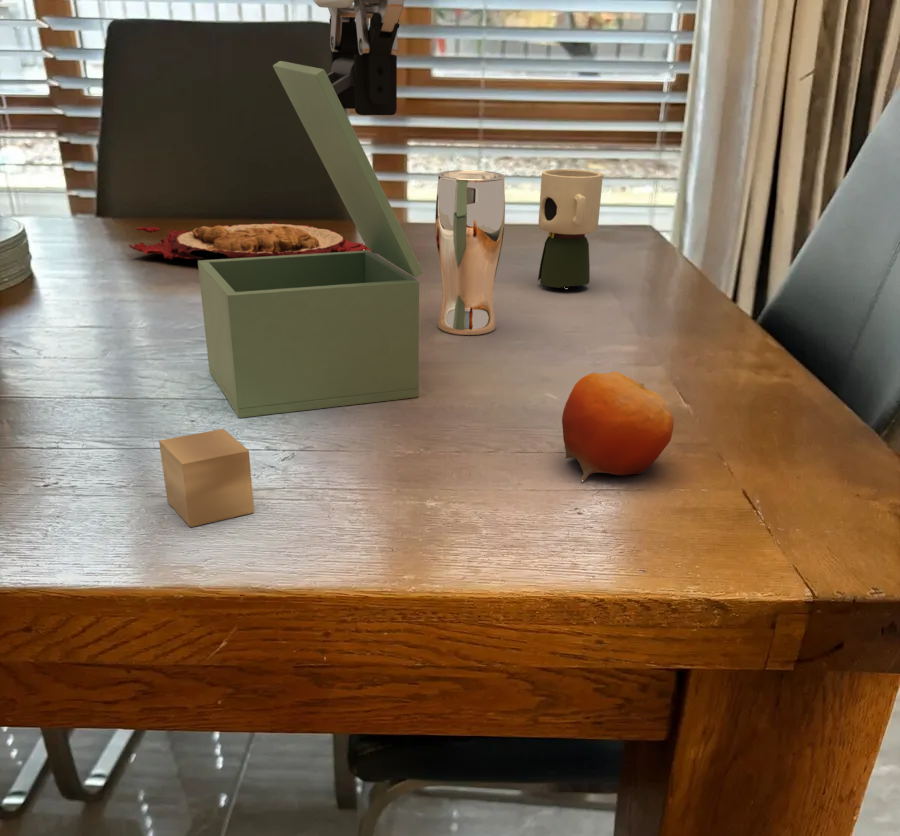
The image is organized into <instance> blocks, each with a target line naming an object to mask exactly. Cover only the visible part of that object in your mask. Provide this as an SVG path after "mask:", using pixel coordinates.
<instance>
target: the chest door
mask: <svg viewBox="0 0 900 836" xmlns="http://www.w3.org/2000/svg"><path fill="white" fill-rule="evenodd" d="M272 68H273V70H274V71H275V74H276V75H277V77H278V79H279V82H280V83H281V85H282V87H283V89H284V91H285V93H286V95H287V96H288V98H289V100H290V102H291V104H292V106H293V108H294V110H295V112H296V114H297V117H298V118H299V120H300V122H301V123H302V126H303V128H304V130H305V131H306V133H307V135H308V137H309V139H310V141H311V143H312V145H313V147H314V149H315V150H316V153H317V155H318V156H319V158H320V161H321V162H322V164H323V166H324V168H325V170H326V172H327V174H328V176H329V178H330V179H331V181H332V184H333V186H334V188H335V189H336V191H337V193H338V196H339V197H340V199H341V202H342V203H343V205H344V207H345V209H346V210H347V212H348V214H349V217H350V218H351V220H352V222H353V224H354V226H355V228H356V230H357V232H358V234H359V236H360V237H361V240H362V241H363V244H365V245H366V247H367V248H369V249H370V250H372V252H373V253H375V254H377V255H378V256H380V257H381V258H383V259H384V260H386V261H388V262H389V263H391V264H392V265H394V266H396V267H397V268H399V269H400V270H402V271H404V272H405V273H407V274H408V275H410V276H411V277H413V278H415V279H416V278H418V277H419V276H421V275H422V274H424V271H423V268H422V267H421V264H420V263H419V261H418V259H417V257H416V255H415V253H414V251H413V248H412V247H411V245H410V242H409V239H408V238H407V236H406V234H405V232H404V230H403V228H402V225H401V224H400V222H399V219H398V218H397V216H396V213H395V211H394V209H393V207H392V205H391V204H390V202H389V199H388V196H387V195H386V193H385V191H384V190H383V187H382V184H381V183H380V181H379V178H378V176H377V174H376V173H375V170H374V168H373V166H372V165H371V163H370V160H369V158H368V155H367V154H366V152H365V150H364V148H363V146H362V143H361V141H360V140H359V137H358V135H357V133H356V131H355V129H354V127H353V125H352V124H351V121H350V118H349V117H348V115H347V113H346V110H345V109H343V107H342V105H341V103H340V101H339V98H338V96H337V94H339V93H340V92H342V91H344V90H345V89H347V88H348V87H350V86H351V85H353V86H355V85H354V59H351V58H344V57H340V58H337V59H336V60H335V61H334V62H333V64H332V66H331V69H330V70H331V71H330V72H328V73H327V72H326V70H325V69H323V68H319V67H315V66H309V65H305V64H299V63H294V62H288V61H284V60H279V61H277V62H275V63H274V64H273V65H272Z"/></svg>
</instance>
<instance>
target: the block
mask: <svg viewBox="0 0 900 836" xmlns="http://www.w3.org/2000/svg"><path fill="white" fill-rule="evenodd" d="M158 443H159V451H160V457H161V465H162V473H163V480H164V485H165V486H164V487H165V493H166V502H167V503H168V504H169V506H170V507H171V508H172V509H173V510H174V511H175V512H176V514H178V516H179V517H180V518H181V519H182V520H183V521H184V523H186V524H187V526H188V527H189V528H194V527H199V526H202V525H206V524H210V523H216V522H219V521H224V520H227V519H233V518H237V517H241V516H245V515H246V516H247V515H250V514H254V513H255V506H254V504H255V503H254V494H253V481H252V471H251V470H252V469H251V459H250V450H249V449H248V448H247V447H246V446H244V445H243V444H242V443H241V442H240V441H239V440H238V439H236V438H235V437H234V436H232V434H231V433H229V431H227V430H226V429H225V428H219V429H213V430H209V431H203V432H198V433H193V434H187V435H181V436H177V437H172V438H171V437H170V438H165V439H160V440H159V441H158Z"/></svg>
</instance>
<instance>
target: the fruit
mask: <svg viewBox="0 0 900 836" xmlns="http://www.w3.org/2000/svg"><path fill="white" fill-rule="evenodd" d="M662 397H663V396H661V395H660V394H659V393H657V392H655V391H654V390H651V389H648V388H646V387H645V385H644V383H642V382H637V381H636V380H634V379H633V378H631V377H628V376H627V375H625V374H623V373H621V372H619V371H611V372H606V373H600V372H599V373H598V372H592V373H589V374H586V375H584V376H583V377H581V378H580V379H578V381H576V383H575V384H574V386H573V388H572V389H571V391H570V393H569V395H568V398H567V400H566V401H565V404H564V408H563V411H562V415H561V416H562V417H561V425H562V426H561V427H562V439H563V444H564V450H565V459H564V460H566V459H571V458H572V459H576V460H577V462H578V464H579V465H580V468H581V471H582V473H583V475H582V476H581V478H580V480H584V481H585V480H586V479H587V478H588V476H590V475H592V474H596V473H597V474H598V473H601V474H602V473H604V474H610V475H616V476H629V475H640V474H639V473H641V474H642V473H644V472H645V471H647V470H648V469H649V468H650V467H651V466H652V465H653V464H654V463H655V461H656V460H657V459H658V458H659V457H660V455H661V454H662V452H663V451H664V450H665V449H666V448H667V447H668V445H669V443H670V442H671V440H672V437H673V432H674V426H675V420H674V415H673V412H672V411H671V409H670V408H669V406H668V404H667V403H666V400H665V399H664V398H662Z"/></svg>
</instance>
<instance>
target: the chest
mask: <svg viewBox="0 0 900 836" xmlns="http://www.w3.org/2000/svg"><path fill="white" fill-rule="evenodd" d="M198 260H199V261H197V267H198V277H199V288H200V295H201V305H202V314H203V323H204V335H205V344H206V353H207V362H208V371H209V373H210V375H211V376H212V378H213V379H214V381H215V383H216V384H217V386H218V388H219V389H220V390H221V392H222V394H223V395H224V397H225V398H226V400H227V401H228V404H229V405H230V407H231V408H232V410H233V411H234V413H235V414H236V416H237V418H238V419H242V418H249V417H259V416H266V415H267V416H268V415H276V414H285V413H293V412H302V411H311V410H319V409H328V408H336V407H337V408H338V407H344V406H345V407H346V406H356V405H363V404H371V403H379V402H387V401H389V402H390V401H398V400H405V399H416V398H419V386H420V385H419V382H420V381H419V380H420V379H419V378H420V377H419V376H420V375H419V372H420V371H419V370H420V369H419V368H420V365H419V363H420V359H419V358H420V280H418V279H416V278H415V277H413V276H412V275H410V274H409V273H407V272H406V271H404V270H402V269H401V268H399V267H398V266H396V265H394V264H393V263H391V262H390V261H388V260H386V259H385V258H383V257H382V256H380V255H378V254H377V253H375V252H374V251H370V250H367V251H351V252H334V253H317V254H300V255H283V256H267V257H250V258H233V259H227V258H219V259H218V258H217V259H216V258H215V259H198Z"/></svg>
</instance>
